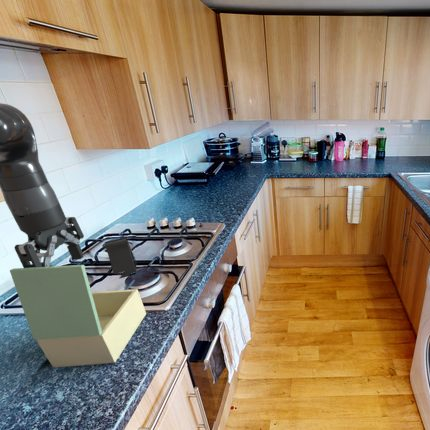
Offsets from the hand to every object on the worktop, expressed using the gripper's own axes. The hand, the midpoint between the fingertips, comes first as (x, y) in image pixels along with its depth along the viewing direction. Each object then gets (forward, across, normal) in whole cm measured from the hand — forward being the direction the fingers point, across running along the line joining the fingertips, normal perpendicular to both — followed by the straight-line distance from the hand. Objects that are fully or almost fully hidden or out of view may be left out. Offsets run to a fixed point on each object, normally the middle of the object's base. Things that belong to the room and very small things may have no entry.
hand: (65, 268), depth 67 cm
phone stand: (+20, -27, -6) cm, 34 cm away
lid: (+3, +9, +4) cm, 10 cm away
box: (+20, +3, +4) cm, 20 cm away
